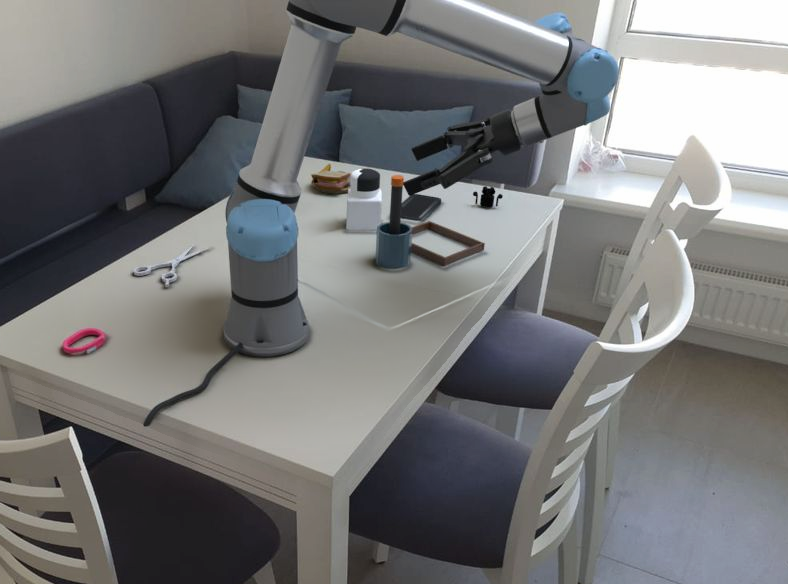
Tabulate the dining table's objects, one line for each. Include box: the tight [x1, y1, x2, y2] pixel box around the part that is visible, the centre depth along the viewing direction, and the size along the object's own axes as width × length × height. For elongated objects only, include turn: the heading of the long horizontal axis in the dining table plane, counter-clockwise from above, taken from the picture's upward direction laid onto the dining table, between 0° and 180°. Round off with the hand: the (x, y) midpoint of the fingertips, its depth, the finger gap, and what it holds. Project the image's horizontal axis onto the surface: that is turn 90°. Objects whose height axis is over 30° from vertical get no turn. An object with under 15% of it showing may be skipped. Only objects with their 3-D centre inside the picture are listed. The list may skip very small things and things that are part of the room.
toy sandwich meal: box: [310, 163, 351, 194], centre depth 205 cm, size 12×14×5 cm
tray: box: [411, 220, 486, 267], centre depth 173 cm, size 12×16×2 cm
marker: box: [389, 174, 405, 235], centre depth 162 cm, size 2×2×18 cm
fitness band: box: [62, 327, 107, 355], centre depth 142 cm, size 8×6×2 cm
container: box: [345, 167, 383, 231], centre depth 181 cm, size 8×8×13 cm
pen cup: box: [375, 221, 413, 269], centre depth 165 cm, size 7×7×8 cm
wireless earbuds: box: [472, 185, 504, 209], centre depth 192 cm, size 7×2×5 cm, turn 70°
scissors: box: [133, 244, 210, 288], centre depth 169 cm, size 11×1×20 cm
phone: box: [401, 193, 442, 223], centre depth 191 cm, size 8×1×15 cm
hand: (410, 171), depth 154 cm, fingers open, 13 cm apart
